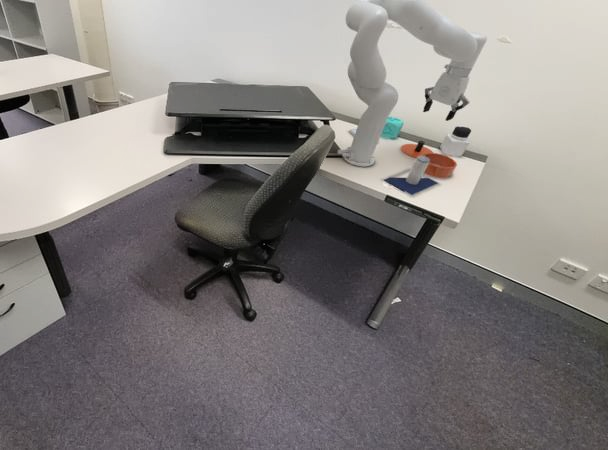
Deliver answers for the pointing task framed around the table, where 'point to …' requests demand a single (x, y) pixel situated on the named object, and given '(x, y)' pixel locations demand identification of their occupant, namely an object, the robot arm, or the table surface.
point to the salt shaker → (417, 170)
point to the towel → (408, 187)
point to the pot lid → (415, 149)
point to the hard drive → (353, 131)
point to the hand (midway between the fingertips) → (436, 115)
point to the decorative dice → (392, 127)
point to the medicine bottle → (456, 141)
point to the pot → (442, 161)
